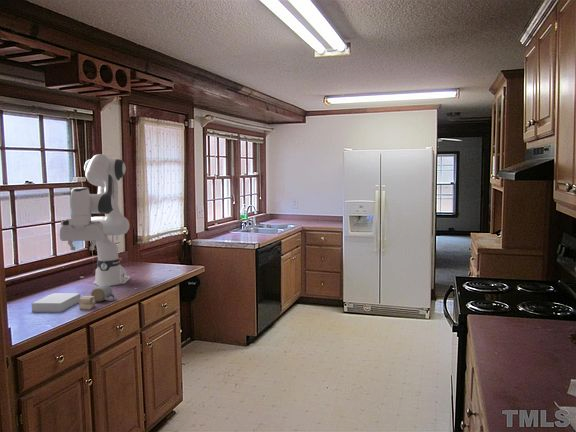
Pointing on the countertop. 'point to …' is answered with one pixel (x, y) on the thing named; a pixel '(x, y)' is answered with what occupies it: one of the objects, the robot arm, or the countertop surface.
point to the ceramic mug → (103, 293)
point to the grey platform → (55, 302)
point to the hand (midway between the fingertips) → (82, 250)
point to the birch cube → (86, 302)
